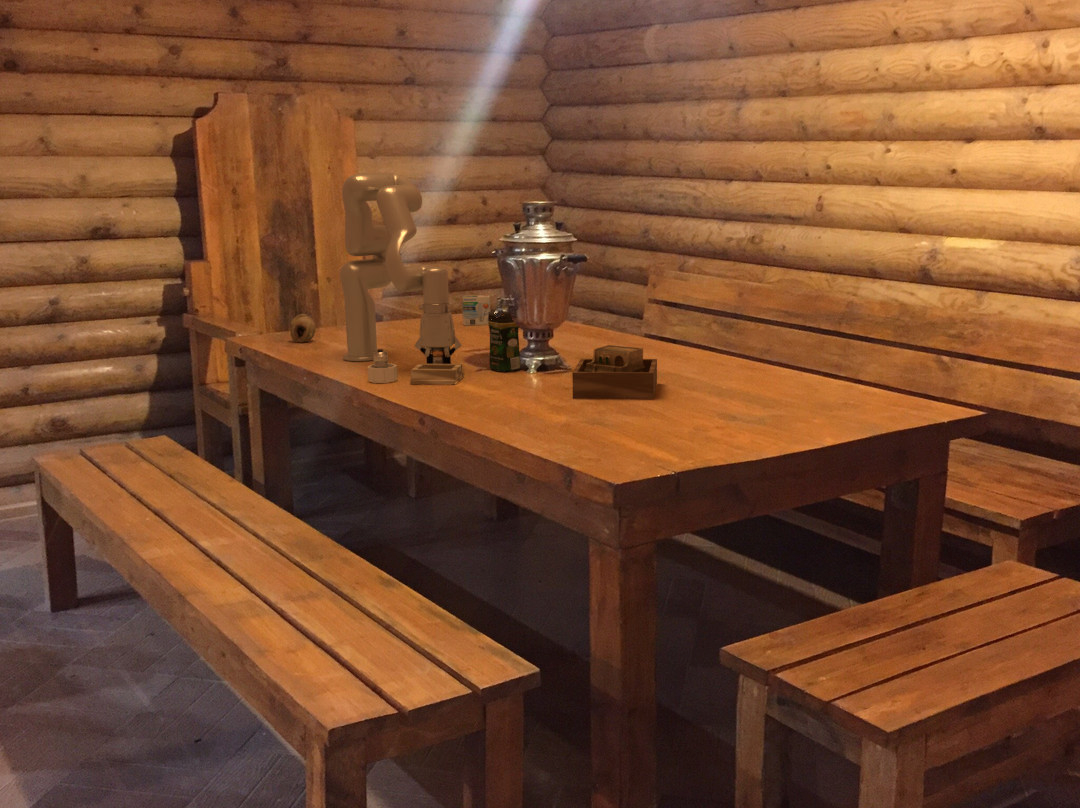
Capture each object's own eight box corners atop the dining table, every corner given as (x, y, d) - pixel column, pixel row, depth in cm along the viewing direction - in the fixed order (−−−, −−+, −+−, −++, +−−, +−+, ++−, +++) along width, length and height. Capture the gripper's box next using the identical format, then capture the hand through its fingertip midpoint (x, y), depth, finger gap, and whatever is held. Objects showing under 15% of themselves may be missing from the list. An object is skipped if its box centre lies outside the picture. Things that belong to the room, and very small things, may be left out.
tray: (420, 376, 342) (419, 363, 341) (463, 376, 340) (462, 363, 339) (410, 384, 331) (409, 370, 330) (454, 384, 329) (454, 371, 328)
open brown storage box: (581, 382, 327) (580, 358, 326) (656, 383, 324) (656, 359, 323) (572, 398, 308) (572, 372, 306) (653, 399, 305) (653, 373, 303)
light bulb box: (463, 326, 437) (462, 297, 435) (462, 323, 444) (461, 295, 442) (491, 324, 438) (490, 296, 436) (490, 322, 445) (489, 294, 442)
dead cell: (377, 377, 339) (375, 348, 337) (390, 377, 338) (389, 348, 336) (373, 380, 335) (371, 350, 333) (386, 380, 334) (385, 350, 333)
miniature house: (605, 383, 327) (604, 343, 325) (648, 388, 319) (648, 347, 317) (575, 392, 316) (575, 351, 313) (619, 398, 307) (619, 355, 305)
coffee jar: (485, 369, 351) (483, 308, 347) (506, 366, 355) (504, 306, 351) (503, 373, 343) (501, 311, 339) (525, 370, 348) (523, 309, 344)
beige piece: (373, 378, 341) (372, 363, 340) (399, 378, 340) (399, 363, 339) (365, 383, 334) (364, 368, 333) (392, 383, 332) (391, 368, 331)
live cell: (434, 371, 349) (432, 343, 347) (447, 372, 348) (446, 343, 346) (430, 374, 345) (429, 345, 343) (444, 374, 344) (443, 345, 342)
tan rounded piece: (288, 341, 411) (286, 313, 409) (312, 339, 414) (310, 311, 412) (295, 345, 403) (293, 316, 400) (319, 342, 406) (317, 314, 404)
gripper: (405, 310, 340) (408, 371, 344) (461, 310, 337) (463, 372, 341) (412, 307, 347) (414, 366, 351) (466, 307, 344) (469, 367, 348)
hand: (439, 368), depth 346 cm, fingers open, 4 cm apart
